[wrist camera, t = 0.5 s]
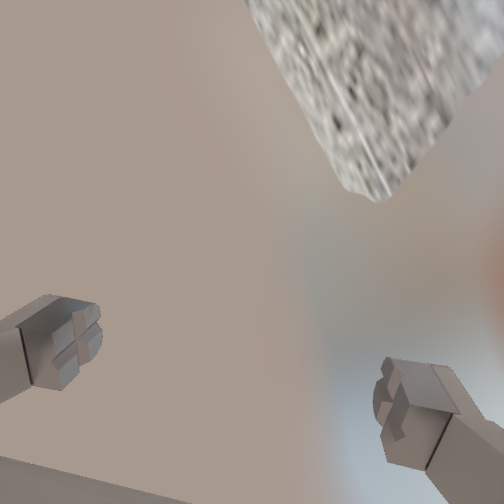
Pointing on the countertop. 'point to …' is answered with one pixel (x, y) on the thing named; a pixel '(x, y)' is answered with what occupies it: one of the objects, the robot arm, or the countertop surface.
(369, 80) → the countertop surface
